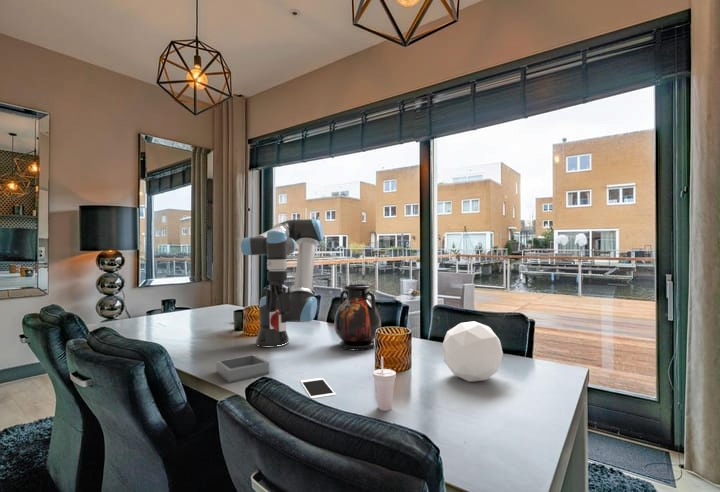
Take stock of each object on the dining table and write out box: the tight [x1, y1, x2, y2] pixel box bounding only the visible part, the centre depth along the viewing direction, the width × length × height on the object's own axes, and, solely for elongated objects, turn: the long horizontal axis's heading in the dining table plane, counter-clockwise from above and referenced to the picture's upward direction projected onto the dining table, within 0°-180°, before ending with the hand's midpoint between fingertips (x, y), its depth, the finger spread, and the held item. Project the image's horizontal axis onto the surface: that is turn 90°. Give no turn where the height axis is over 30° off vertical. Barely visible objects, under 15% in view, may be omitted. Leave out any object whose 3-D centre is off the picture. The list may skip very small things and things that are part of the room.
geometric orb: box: [441, 320, 504, 383], centre depth 122 cm, size 19×20×20 cm
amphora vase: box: [333, 283, 382, 351], centre depth 167 cm, size 22×22×28 cm
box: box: [215, 354, 270, 384], centre depth 131 cm, size 14×14×4 cm
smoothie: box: [372, 356, 397, 412], centre depth 100 cm, size 6×6×14 cm
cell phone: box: [299, 377, 337, 400], centre depth 116 cm, size 8×16×1 cm, turn 21°
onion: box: [270, 310, 280, 330], centre depth 142 cm, size 6×6×8 cm
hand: (277, 329), depth 142 cm, fingers closed on onion, 6 cm apart
